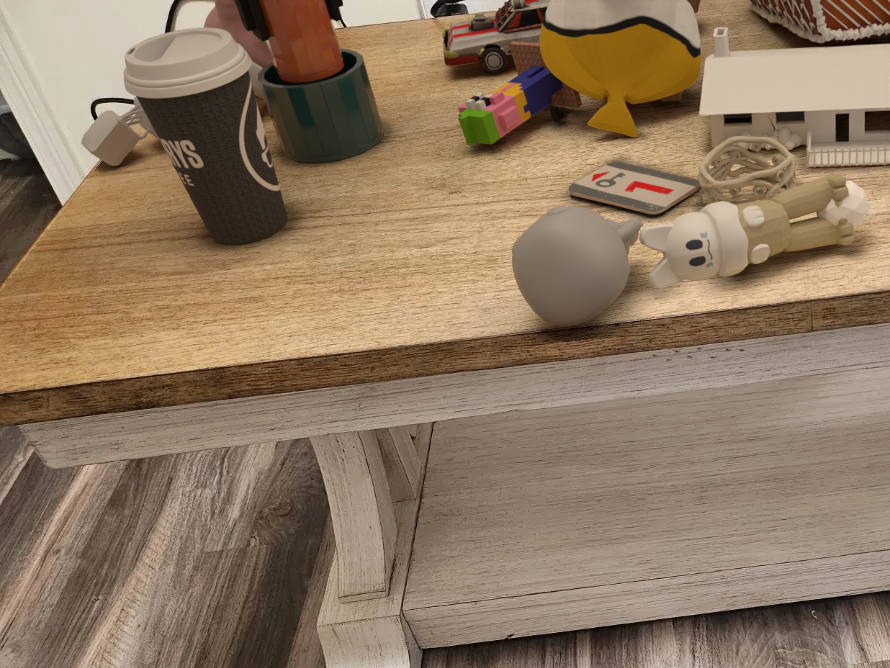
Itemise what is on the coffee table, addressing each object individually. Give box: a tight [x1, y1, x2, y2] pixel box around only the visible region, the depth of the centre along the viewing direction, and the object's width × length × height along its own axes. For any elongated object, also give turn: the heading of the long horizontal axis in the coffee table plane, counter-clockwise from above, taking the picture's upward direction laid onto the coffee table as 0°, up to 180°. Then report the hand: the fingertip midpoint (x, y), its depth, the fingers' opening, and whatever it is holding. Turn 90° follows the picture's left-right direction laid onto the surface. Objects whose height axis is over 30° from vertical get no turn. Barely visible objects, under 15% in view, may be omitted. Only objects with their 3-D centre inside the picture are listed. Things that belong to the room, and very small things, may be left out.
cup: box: [258, 0, 344, 83], centre depth 100 cm, size 6×6×9 cm
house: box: [698, 26, 890, 169], centre depth 99 cm, size 25×24×7 cm
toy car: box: [442, 0, 550, 74], centre depth 117 cm, size 8×18×8 cm, turn 101°
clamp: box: [80, 61, 265, 167], centre depth 109 cm, size 20×4×7 cm, turn 130°
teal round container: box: [257, 48, 385, 164], centre depth 105 cm, size 10×10×7 cm
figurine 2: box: [457, 42, 583, 146], centre depth 104 cm, size 7×6×12 cm
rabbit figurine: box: [638, 174, 870, 290], centre depth 84 cm, size 5×10×18 cm
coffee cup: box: [123, 27, 289, 245], centre depth 90 cm, size 10×10×15 cm
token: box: [568, 161, 701, 215], centre depth 95 cm, size 7×1×10 cm
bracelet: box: [697, 136, 797, 206], centre depth 91 cm, size 4×8×8 cm
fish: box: [539, 0, 702, 138], centre depth 103 cm, size 20×12×15 cm
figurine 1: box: [203, 0, 273, 68], centre depth 115 cm, size 9×11×12 cm
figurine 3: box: [511, 205, 644, 327], centre depth 80 cm, size 8×8×12 cm
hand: (297, 25), depth 100 cm, fingers closed on cup, 6 cm apart
